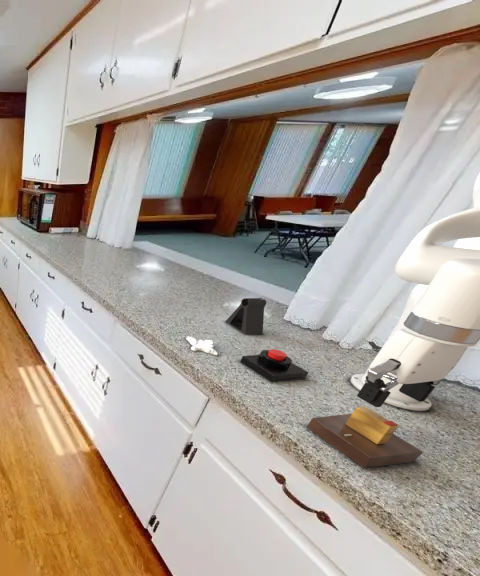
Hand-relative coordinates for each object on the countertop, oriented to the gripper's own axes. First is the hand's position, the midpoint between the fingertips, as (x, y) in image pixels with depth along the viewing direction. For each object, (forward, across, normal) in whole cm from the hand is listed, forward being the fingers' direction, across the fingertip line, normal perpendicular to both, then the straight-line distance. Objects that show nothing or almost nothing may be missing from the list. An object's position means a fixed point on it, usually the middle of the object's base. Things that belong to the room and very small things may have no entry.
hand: (389, 399), depth 60 cm
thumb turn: (+9, +1, 0) cm, 9 cm away
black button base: (+13, -6, -24) cm, 27 cm away
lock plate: (+12, +1, 0) cm, 12 cm away
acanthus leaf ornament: (+13, +5, -36) cm, 39 cm away
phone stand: (+14, -20, -46) cm, 52 cm away
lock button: (+9, -7, -25) cm, 27 cm away
